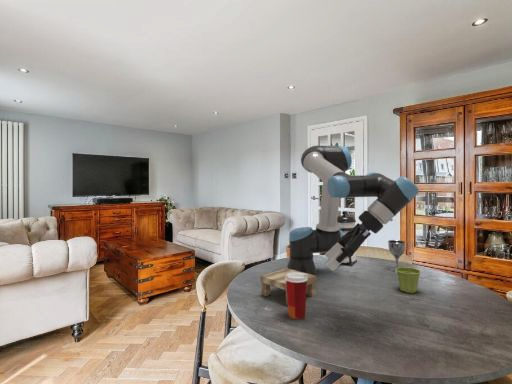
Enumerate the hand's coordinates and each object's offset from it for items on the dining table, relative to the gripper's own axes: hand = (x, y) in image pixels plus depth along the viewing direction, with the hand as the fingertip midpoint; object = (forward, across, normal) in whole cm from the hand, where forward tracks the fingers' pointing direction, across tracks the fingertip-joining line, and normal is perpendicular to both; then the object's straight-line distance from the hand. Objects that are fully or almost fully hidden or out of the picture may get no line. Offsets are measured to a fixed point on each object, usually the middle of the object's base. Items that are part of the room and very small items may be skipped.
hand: (328, 262), depth 96 cm
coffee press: (+4, +71, -22) cm, 75 cm away
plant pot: (-10, +31, -37) cm, 50 cm away
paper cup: (+21, 0, -6) cm, 22 cm away
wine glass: (-13, +62, -40) cm, 75 cm away
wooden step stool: (+24, +18, -2) cm, 30 cm away
